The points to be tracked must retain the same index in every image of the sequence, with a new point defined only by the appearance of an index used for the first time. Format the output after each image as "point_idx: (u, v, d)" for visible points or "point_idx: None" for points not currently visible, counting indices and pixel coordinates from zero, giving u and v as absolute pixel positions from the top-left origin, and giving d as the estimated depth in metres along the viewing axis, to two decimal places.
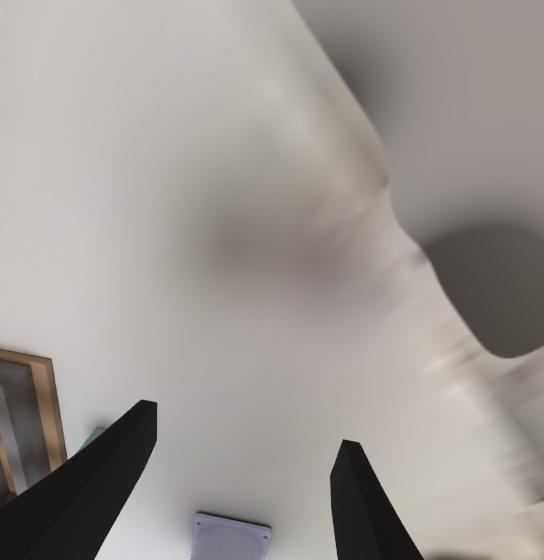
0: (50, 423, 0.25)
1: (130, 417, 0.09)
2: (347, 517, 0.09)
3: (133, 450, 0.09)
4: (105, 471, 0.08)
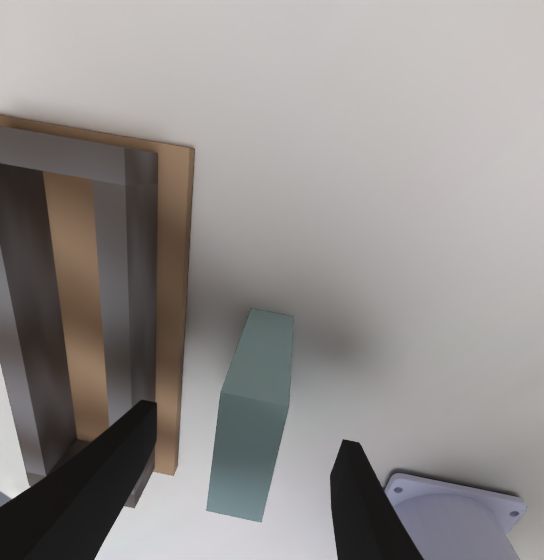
0: (173, 295, 0.14)
1: (130, 417, 0.09)
2: (347, 518, 0.09)
3: (133, 450, 0.09)
4: (105, 471, 0.08)
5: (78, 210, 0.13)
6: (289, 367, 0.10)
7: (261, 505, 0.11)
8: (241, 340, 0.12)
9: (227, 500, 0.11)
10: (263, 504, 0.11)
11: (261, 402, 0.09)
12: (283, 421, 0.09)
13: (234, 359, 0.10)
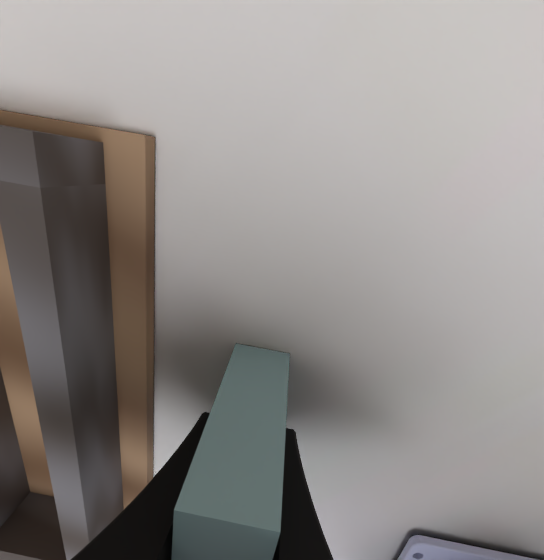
0: (134, 328, 0.11)
1: (201, 431, 0.09)
2: None
3: None
4: None
5: None
6: (282, 447, 0.07)
7: None
8: (217, 399, 0.08)
9: None
10: None
11: (238, 526, 0.06)
12: (271, 550, 0.06)
13: (204, 436, 0.07)
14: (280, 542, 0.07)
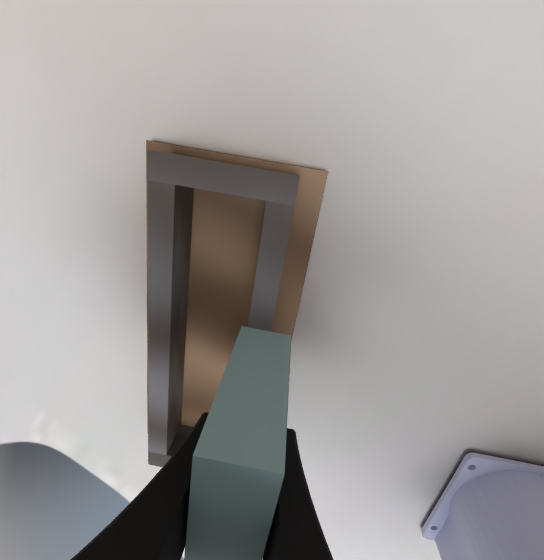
0: (292, 295, 0.16)
1: (201, 431, 0.09)
2: None
3: None
4: (189, 488, 0.08)
5: (219, 223, 0.15)
6: (285, 410, 0.08)
7: None
8: (226, 372, 0.09)
9: None
10: None
11: (247, 469, 0.07)
12: (277, 492, 0.07)
13: (216, 400, 0.08)
14: (280, 542, 0.07)
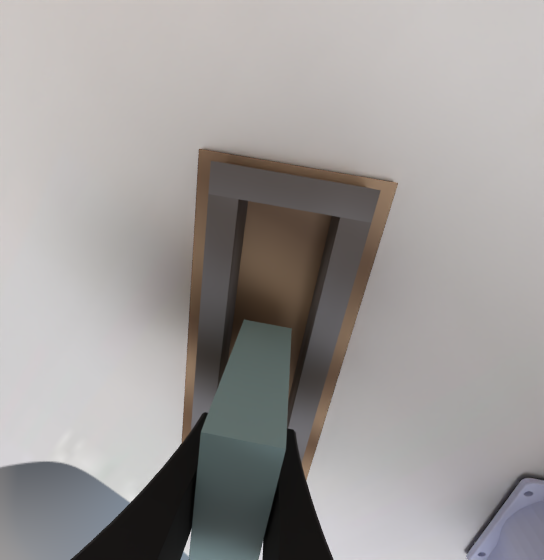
0: (348, 314, 0.15)
1: None
2: None
3: None
4: (189, 488, 0.08)
5: (274, 237, 0.14)
6: (286, 394, 0.09)
7: (253, 559, 0.09)
8: (230, 360, 0.10)
9: (213, 553, 0.09)
10: (255, 558, 0.09)
11: (251, 444, 0.07)
12: (279, 466, 0.07)
13: (221, 385, 0.09)
14: (280, 542, 0.07)
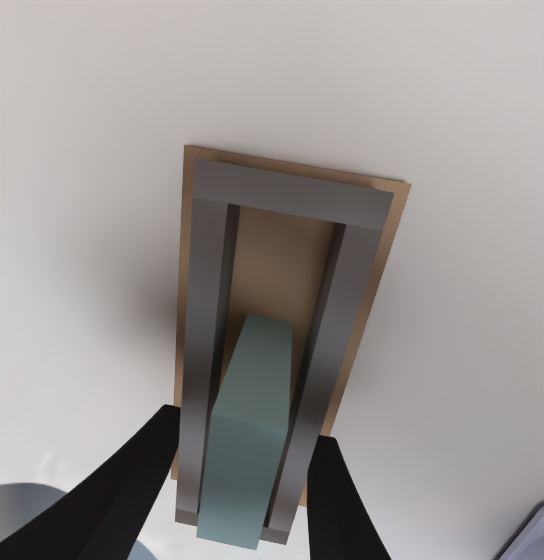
0: (353, 331, 0.13)
1: (156, 422, 0.09)
2: (318, 512, 0.09)
3: (160, 455, 0.09)
4: (136, 477, 0.08)
5: (270, 245, 0.12)
6: (288, 382, 0.10)
7: (256, 532, 0.10)
8: (236, 351, 0.11)
9: (219, 526, 0.10)
10: (258, 532, 0.10)
11: (257, 425, 0.08)
12: (281, 445, 0.08)
13: (228, 372, 0.09)
14: (345, 556, 0.06)
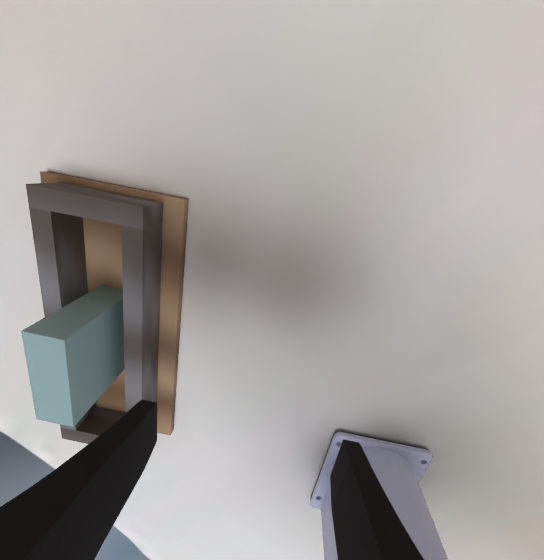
0: (172, 298, 0.19)
1: (130, 417, 0.09)
2: (347, 518, 0.09)
3: (133, 450, 0.09)
4: (105, 471, 0.08)
5: (106, 238, 0.18)
6: (89, 321, 0.16)
7: (69, 413, 0.16)
8: (68, 304, 0.17)
9: (47, 410, 0.16)
10: (70, 412, 0.16)
11: (47, 338, 0.14)
12: (64, 351, 0.14)
13: (51, 314, 0.16)
14: None
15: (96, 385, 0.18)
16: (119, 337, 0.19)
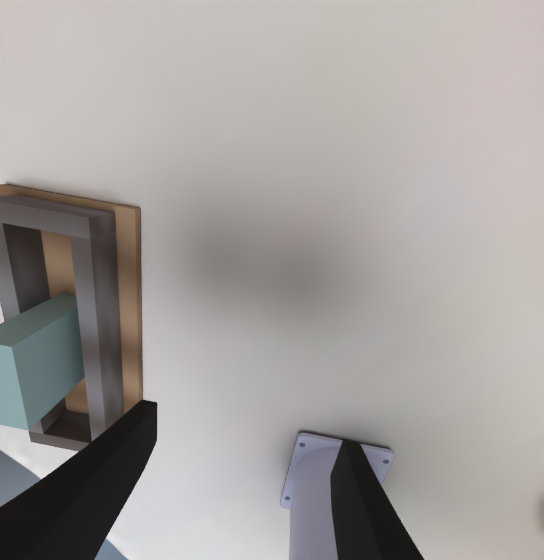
0: (130, 304, 0.20)
1: (130, 417, 0.09)
2: (347, 518, 0.09)
3: (133, 450, 0.09)
4: (105, 471, 0.08)
5: (63, 247, 0.19)
6: (41, 328, 0.16)
7: (23, 417, 0.16)
8: (24, 312, 0.17)
9: (2, 414, 0.16)
10: (24, 416, 0.16)
11: None
12: (12, 357, 0.15)
13: (5, 322, 0.16)
14: None
15: (54, 389, 0.18)
16: (79, 343, 0.20)
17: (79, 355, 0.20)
